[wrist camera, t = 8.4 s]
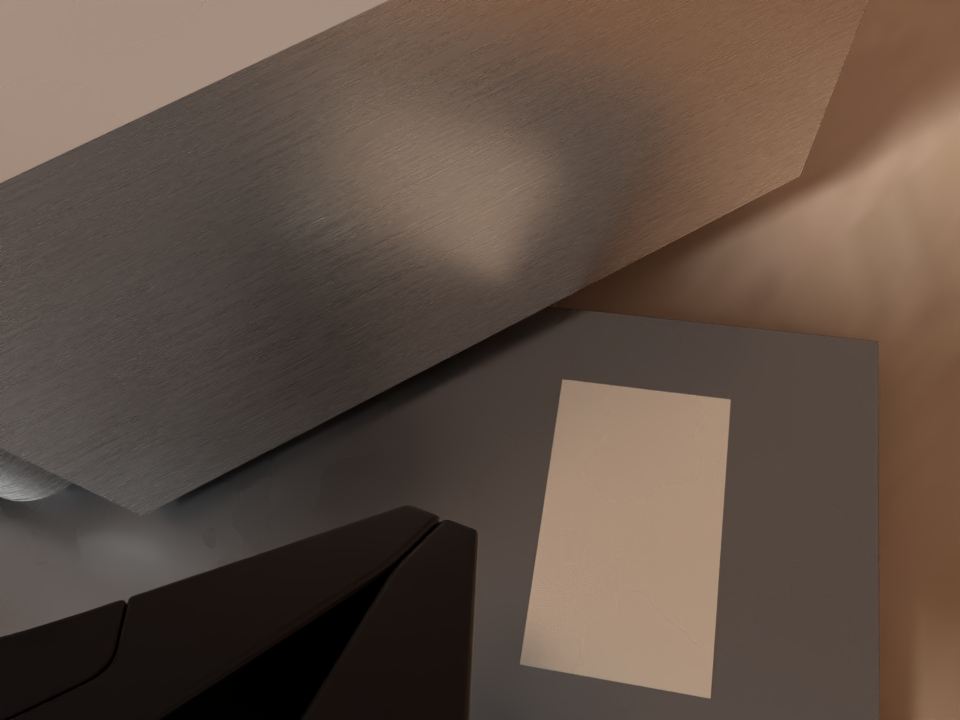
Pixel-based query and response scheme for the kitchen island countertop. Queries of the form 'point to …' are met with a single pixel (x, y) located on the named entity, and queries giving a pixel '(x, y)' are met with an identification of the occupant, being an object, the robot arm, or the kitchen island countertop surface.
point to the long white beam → (344, 198)
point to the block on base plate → (567, 517)
